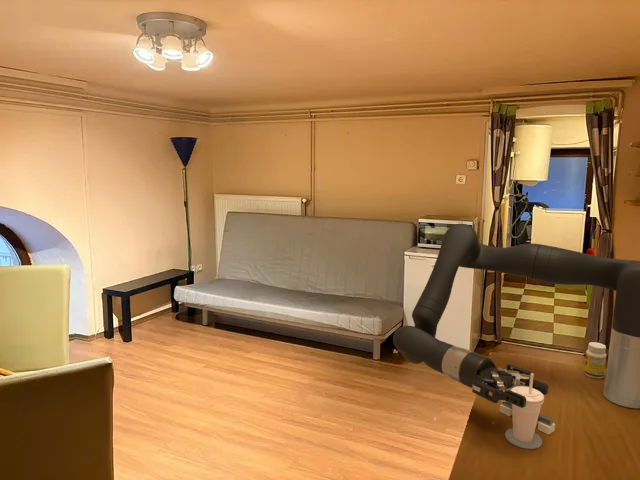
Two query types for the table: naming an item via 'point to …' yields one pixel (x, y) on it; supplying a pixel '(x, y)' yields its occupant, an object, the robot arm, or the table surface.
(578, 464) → the table surface
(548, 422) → the steel bar
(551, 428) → the hurdle stand
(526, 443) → the pad
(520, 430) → the smoothie
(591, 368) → the supplement bottle
